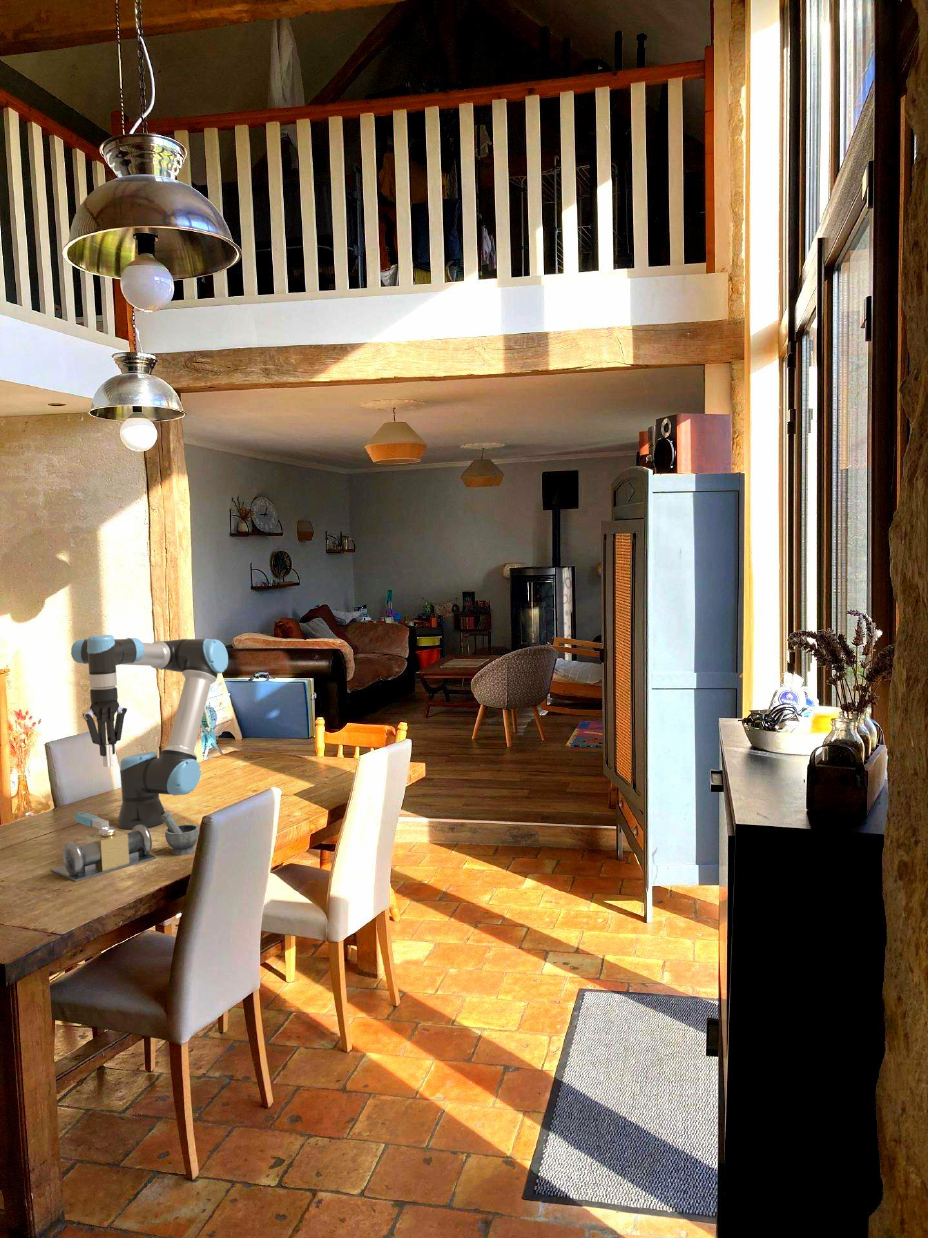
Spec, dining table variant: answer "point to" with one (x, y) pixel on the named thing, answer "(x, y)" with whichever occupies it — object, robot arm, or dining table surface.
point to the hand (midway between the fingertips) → (108, 766)
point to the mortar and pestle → (180, 835)
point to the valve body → (105, 853)
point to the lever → (95, 823)
